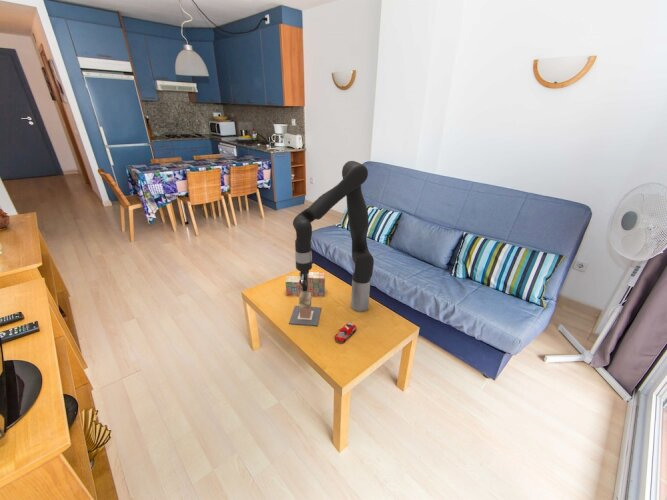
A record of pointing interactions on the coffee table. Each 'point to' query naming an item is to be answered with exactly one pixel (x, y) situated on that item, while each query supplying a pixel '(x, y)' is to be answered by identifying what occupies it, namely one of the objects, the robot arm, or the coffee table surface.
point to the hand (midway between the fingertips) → (305, 290)
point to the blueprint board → (305, 321)
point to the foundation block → (305, 312)
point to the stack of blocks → (314, 285)
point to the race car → (345, 332)
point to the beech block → (305, 300)
